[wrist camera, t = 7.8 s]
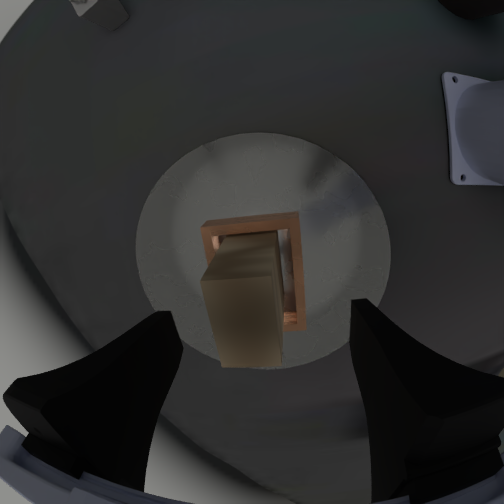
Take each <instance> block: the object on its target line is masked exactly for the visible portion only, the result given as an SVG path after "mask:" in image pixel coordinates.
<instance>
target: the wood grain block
mask: <svg viewBox="0 0 504 504" xmlns="http://www.w3.org/2000/svg"><path fill="white" fill-rule="evenodd" d="M200 284H201V289H202V293H203V297H204V301H205V305H206V309H207V313H208V317H209V320H210V324H211V328H212V332H213V336H214V339H215V343H216V347H217V350H218V354H219V358H220V361H221V365H222V367H274V366H282V350H283V325H284V285H283V276H282V266H281V257H280V248H279V240H278V231H277V230H271V231H260V232H249V233H239V234H228V235H226V237H225V238H224V240H223V242H222V244H221V245H220V247H219V249H218V250H217V252H216V254H215V256H214V257H213V259H212V261H211V262H210V264H209V266H208V268H207V269H206V271H205V273H204V275H203V276H202V278H201V280H200Z"/></svg>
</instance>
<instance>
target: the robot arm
mask: <svg viewBox="0 0 504 504" xmlns="http://www.w3.org/2000/svg"><path fill="white" fill-rule="evenodd" d="M452 77H453V78H454V79H455V83H454V82H453V80H452ZM442 84H443V90H444V97H445V104H446V113H447V123H448V134H449V151H450V180H451V182H452V183H453V184H456V185H502V186H504V80H500V81H493V82H491V81H488V80H484V79H480V78H475V77H471V76H466V75H461V74H456V73H451V72H445V73H443V74H442ZM461 175H463V179H462V180H461V178H460V177H461ZM349 343H350V350H351V356H352V363H353V366H354V370H355V374H356V377H357V381H358V384H359V388H360V392H361V396H362V399H363V403H364V407H365V412H366V417H367V425H368V433H369V444H370V456H371V478H372V501H371V504H504V452H503V453H502V454H501V455H500V453H499V450H498V447H499V446H500V445H501V440H500V438H499V433H500V432H501V431H502V430H503V428H504V378H503V377H499V376H495V375H492V374H488V373H484V372H480V371H477V370H475V369H472V368H469V367H466V366H464V365H461V364H459V363H456V362H454V361H452V360H450V359H448V358H446V357H444V356H442V355H440V354H438V353H436V352H434V351H433V350H431V349H429V348H428V347H426V346H425V345H423V344H421V343H420V342H418V341H417V340H415V339H414V338H413V337H411V336H410V335H409V334H407V333H406V332H405V331H403V330H402V329H401V328H400V327H398V326H397V325H396V324H395V323H393V322H392V321H391V320H390V319H389V318H388V317H387V316H385V315H384V314H383V313H382V312H381V311H380V310H379V309H378V308H377V307H376V306H375V305H374V304H373V303H371V302H370V301H369V300H368V299H367V298H362V299H353V300H351V317H350V336H349ZM183 349H184V348H183V345H182V342H181V340H180V337H179V334H178V331H177V328H176V325H175V322H174V319H173V316H172V313H171V311H157V312H155V313H153V314H151V315H150V316H148V317H147V318H145V319H144V320H142V321H141V322H140V323H138V324H137V325H135V326H134V327H132V328H131V329H130V330H128V331H127V332H125V333H124V334H122V335H121V336H119V337H118V338H116V339H115V340H113V341H112V342H110V343H109V344H107V345H106V346H104V347H102V348H101V349H99V350H97V351H95V352H94V353H92V354H90V355H88V356H86V357H84V358H82V359H80V360H77V361H75V362H73V363H71V364H68V365H65V366H63V367H60V368H57V369H54V370H51V371H48V372H44V373H41V374H37V375H32V376H27V377H22V378H17V379H16V380H15V381H14V382H13V383H12V384H11V385H10V387H9V388H8V389H7V390H6V391H5V393H4V394H3V400H4V402H5V404H6V406H7V407H8V408H9V410H10V411H11V413H12V414H13V415H14V416H15V418H16V419H17V420H18V421H19V422H20V424H21V425H22V426H23V427H24V428H25V429H26V430H27V431H28V432H29V434H28V435H27V437H25V436H24V435H22V434H21V433H20V432H18V431H17V430H15V429H13V428H12V427H10V426H8V425H6V426H5V428H4V429H3V431H2V432H1V434H0V478H1V479H2V480H3V481H4V482H6V483H7V484H8V485H9V486H10V487H12V488H13V489H14V490H15V491H17V492H18V493H19V494H20V495H22V496H23V497H24V498H26V499H27V500H28V501H30V502H31V503H33V504H193V503H187V502H182V501H177V500H172V499H168V498H163V497H160V496H156V495H152V494H148V493H145V492H144V485H145V475H146V468H147V462H148V456H149V450H150V446H151V442H152V438H153V433H154V430H155V426H156V423H157V419H158V416H159V413H160V410H161V408H162V405H163V403H164V401H165V398H166V396H167V394H168V391H169V389H170V387H171V385H172V382H173V380H174V378H175V375H176V373H177V370H178V368H179V364H180V361H181V357H182V353H183Z"/></svg>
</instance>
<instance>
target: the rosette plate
mask: <svg viewBox="0 0 504 504" xmlns="http://www.w3.org/2000/svg"><path fill="white" fill-rule="evenodd" d="M271 230H277V231H278V240H279V248H280V257H281V266H282V276H283V285H284V325H283V350H282V366H274V367H246V368H254V369H281V368H289V367H294V366H299V365H303V364H306V363H309V362H312V361H315V360H317V359H320V358H322V357H324V356H327V355H328V354H330V353H332V352H334V351H335V350H337V349H339V348H340V347H342V346H343V345H344V344H346V343H347V342H348V341H349V336H350V317H351V300H353V299H362V298H367V299H368V300H369V301H370V302H371V303H373V304H374V305H375V306H376V307H378V305H379V303H380V301H381V298H382V296H383V294H384V291H385V288H386V284H387V281H388V277H389V271H390V263H391V245H390V239H389V233H388V228H387V224H386V221H385V218H384V215H383V212H382V210H381V208H380V206H379V204H378V202H377V200H376V198H375V196H374V195H373V193H372V192H371V190H370V189H369V187H368V186H367V185H366V183H365V182H364V181H363V179H362V178H361V177H360V176H359V175H358V174H357V173H356V172H355V171H354V170H353V169H352V168H351V167H350V166H349V165H347V164H346V163H345V162H344V161H342V160H341V159H340V158H338V157H337V156H336V155H334V154H332V153H331V152H329V151H327V150H325V149H323V148H322V147H320V146H318V145H315V144H313V143H310V142H308V141H305V140H302V139H300V138H296V137H291V136H287V135H282V134H274V133H261V132H259V133H244V134H237V135H232V136H228V137H223V138H219V139H217V140H214V141H212V142H209V143H206V144H204V145H202V146H200V147H198V148H196V149H195V150H193V151H191V152H189V153H187V154H186V155H185V156H183V157H182V158H181V159H180V160H178V161H177V162H176V163H174V164H173V165H172V166H171V167H170V168H169V169H168V170H167V171H166V172H165V173H164V174H163V176H162V177H161V178H160V179H159V181H158V182H157V183H156V185H155V186H154V188H153V189H152V191H151V192H150V194H149V196H148V198H147V200H146V202H145V204H144V207H143V210H142V213H141V216H140V219H139V223H138V228H137V234H136V259H137V267H138V271H139V275H140V280H141V282H142V285H143V288H144V290H145V293H146V295H147V297H148V299H149V301H150V303H151V305H152V306H153V308H154V309H155V311H156V312H157V311H171V313H172V316H173V319H174V322H175V325H176V328H177V331H178V334H179V337H180V338H181V339H182V340H183V341H185V342H186V343H187V344H189V345H190V346H191V347H193V348H195V349H196V350H198V351H200V352H202V353H203V354H205V355H207V356H210V357H212V358H214V359H216V360H219V361H220V358H219V354H218V350H217V347H216V343H215V339H214V336H213V332H212V328H211V324H210V320H209V317H208V313H207V309H206V305H205V301H204V297H203V293H202V289H201V284H200V280H201V278H202V276H203V275H204V273H205V271H206V269H207V268H208V266H209V264H210V262H211V261H212V259H213V257H214V256H215V254H216V252H217V250H218V249H219V247H220V245H221V244H222V242H223V240H224V238H225V237H226V235H228V234H239V233H249V232H260V231H271Z"/></svg>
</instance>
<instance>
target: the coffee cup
mask: <svg viewBox="0 0 504 504" xmlns="http://www.w3.org/2000/svg"><path fill="white" fill-rule="evenodd" d="M438 1H439V2H440V3H441V4H442V5H444V6H445V7H446V8H447V9H448V10H449V11H451V12H452V13H454V14H455V15H457V16H459V17H462V18H464V19H470V20H474V19H477V18H481V17H485V16H489V15H493V14H498V13H502V12H504V0H438Z"/></svg>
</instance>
